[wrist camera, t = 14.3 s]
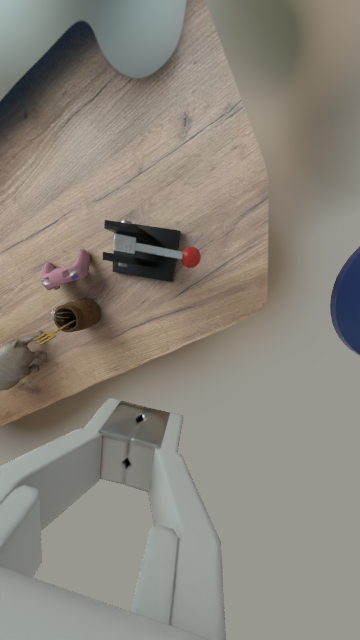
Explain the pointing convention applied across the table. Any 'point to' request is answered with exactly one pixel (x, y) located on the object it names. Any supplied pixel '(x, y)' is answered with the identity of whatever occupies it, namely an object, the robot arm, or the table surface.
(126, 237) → the lever
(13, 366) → the rhinoceros figurine
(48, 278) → the pink toy car
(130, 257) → the bracket
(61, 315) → the utensil holder
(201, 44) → the table surface
